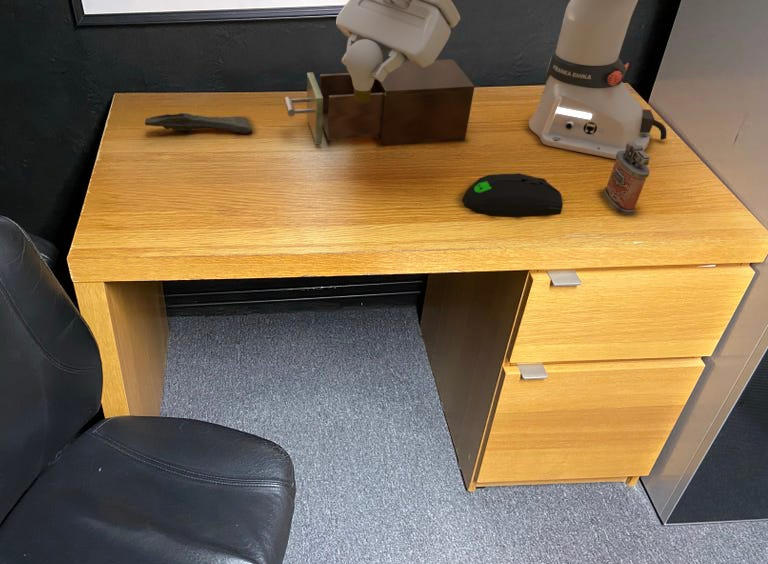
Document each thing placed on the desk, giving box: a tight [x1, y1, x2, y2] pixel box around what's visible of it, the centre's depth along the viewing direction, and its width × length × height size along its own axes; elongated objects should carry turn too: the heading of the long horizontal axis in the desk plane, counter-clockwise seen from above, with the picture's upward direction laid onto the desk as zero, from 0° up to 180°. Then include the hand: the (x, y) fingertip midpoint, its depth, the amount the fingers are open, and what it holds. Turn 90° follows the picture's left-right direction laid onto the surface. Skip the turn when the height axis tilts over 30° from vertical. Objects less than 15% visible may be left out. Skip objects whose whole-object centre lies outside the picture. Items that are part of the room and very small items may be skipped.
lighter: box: [602, 142, 651, 216], centre depth 113 cm, size 8×3×10 cm, turn 5°
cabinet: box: [376, 59, 476, 147], centre depth 135 cm, size 17×14×11 cm
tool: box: [144, 112, 253, 134], centre depth 137 cm, size 21×8×3 cm, turn 101°
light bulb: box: [345, 39, 384, 105], centre depth 110 cm, size 6×6×10 cm
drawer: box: [283, 71, 385, 145], centre depth 133 cm, size 20×12×9 cm, turn 97°
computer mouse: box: [461, 172, 564, 218], centre depth 117 cm, size 11×16×4 cm
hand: (360, 71), depth 110 cm, fingers closed on light bulb, 6 cm apart
